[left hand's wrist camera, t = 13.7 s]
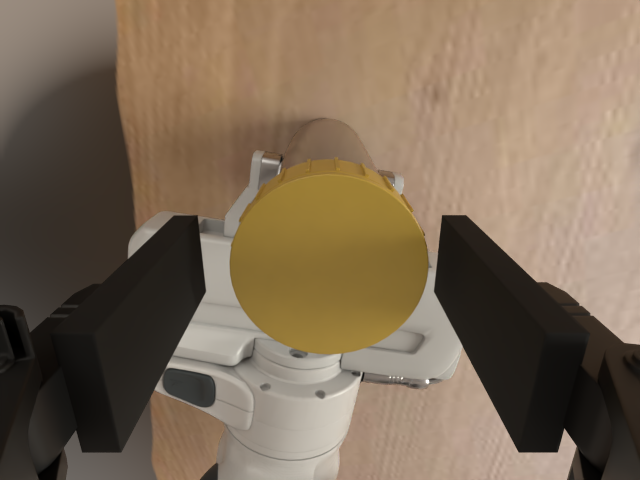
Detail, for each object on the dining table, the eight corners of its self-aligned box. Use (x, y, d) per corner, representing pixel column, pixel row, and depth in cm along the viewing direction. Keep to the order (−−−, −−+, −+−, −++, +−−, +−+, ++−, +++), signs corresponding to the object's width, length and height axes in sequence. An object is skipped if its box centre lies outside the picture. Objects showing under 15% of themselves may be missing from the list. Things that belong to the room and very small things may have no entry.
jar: (376, 135, 28) (447, 218, 12) (346, 205, 30) (373, 359, 14) (303, 106, 28) (273, 152, 11) (277, 179, 29) (221, 309, 13)
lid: (446, 194, 14) (468, 216, 11) (373, 339, 16) (380, 379, 14) (273, 127, 13) (263, 138, 11) (220, 288, 15) (203, 323, 13)
